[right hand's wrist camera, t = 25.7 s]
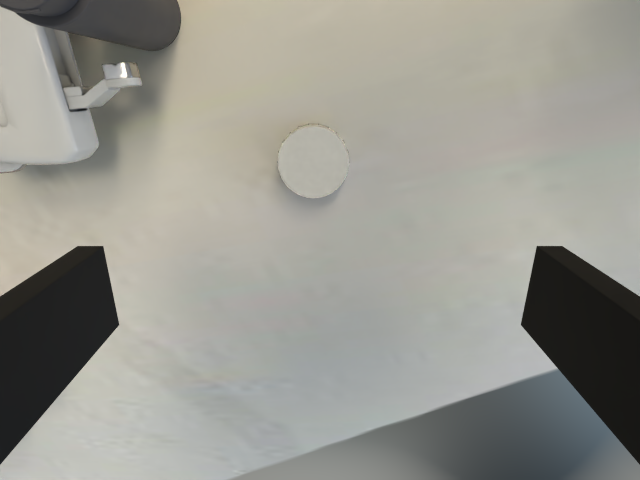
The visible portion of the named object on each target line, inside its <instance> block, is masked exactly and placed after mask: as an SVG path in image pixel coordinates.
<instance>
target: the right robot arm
mask: <svg viewBox="0 0 640 480" xmlns="http://www.w3.org/2000/svg"><path fill="white" fill-rule="evenodd" d="M118 325H119V322H118V317H117V312H116V307H115V302H114V297H113V292H112V287H111V283H110V278H109V273H108V268H107V263H106V258H105V253H104V248H103V246H77V247H76V248H74V249H73V250H71V251H70V252H68V253H67V254H65V255H64V256H62V257H60V258H59V259H57V260H56V261H54V262H53V263H51V264H50V265H48V266H47V267H45V268H44V269H42V270H40V271H39V272H37V273H36V274H34V275H33V276H31V277H30V278H28V279H27V280H25V281H24V282H22V283H20V284H19V285H17V286H16V287H14V288H13V289H11V290H10V291H8V292H7V293H5V294H4V295H2V296H0V464H1V463H2V462H3V461H4V459H5V458H6V457H7V456H8V455H9V454H10V452H11V451H12V450H13V449H14V448H15V447H16V445H17V444H18V443H19V442H20V441H21V439H22V438H23V437H24V436H25V435H26V434H27V432H28V431H29V430H30V429H31V428H32V427H33V425H34V424H35V423H36V422H37V421H38V419H39V418H40V417H41V416H42V415H43V414H44V412H45V411H46V410H47V409H48V408H49V407H50V405H51V404H52V403H53V402H54V401H55V400H56V398H57V397H58V396H59V395H60V394H61V392H62V391H63V390H64V389H65V388H66V387H67V385H68V384H69V383H70V382H71V381H72V380H73V378H74V377H75V376H76V375H77V374H78V372H79V371H80V370H81V369H82V368H83V367H84V365H85V364H86V363H87V362H88V361H89V360H90V358H91V357H92V356H93V355H94V354H95V353H96V351H97V350H98V349H99V348H100V347H101V345H102V344H103V343H104V342H105V341H106V340H107V338H108V337H109V336H110V335H111V334H112V333H113V331H114V330H115V329H116V328H117V327H118ZM521 325H522V327H523V328H524V329H525V330H526V331H527V333H528V334H529V335H530V336H531V337H532V338H533V340H534V341H535V342H536V343H537V344H538V345H539V347H540V348H541V349H542V350H543V351H544V353H545V354H546V355H547V356H548V357H549V358H550V360H551V361H552V362H553V363H554V364H555V365H556V367H557V368H558V369H559V370H560V371H561V372H562V374H563V375H564V376H565V377H566V378H567V380H568V381H569V382H570V383H571V384H572V385H573V386H574V388H575V389H576V390H577V391H578V392H579V394H580V395H581V396H582V397H583V398H584V399H585V401H586V402H587V403H588V404H589V405H590V407H591V408H592V409H593V410H594V411H595V412H596V414H597V415H598V416H599V417H600V418H601V419H602V421H603V422H604V423H605V424H606V425H607V427H608V428H609V429H610V430H611V431H612V432H613V434H614V435H615V436H616V437H617V438H618V439H619V441H620V442H621V443H622V444H623V445H624V446H625V448H626V449H627V450H628V451H629V452H630V454H631V455H632V456H633V457H634V458H635V459H636V461H637V462H638V463H639V464H640V296H638V295H636V294H635V293H633V292H632V291H630V290H629V289H627V288H626V287H624V286H623V285H621V284H620V283H618V282H616V281H615V280H613V279H612V278H610V277H609V276H607V275H606V274H604V273H603V272H601V271H600V270H598V269H596V268H595V267H593V266H592V265H590V264H589V263H587V262H586V261H584V260H583V259H581V258H580V257H578V256H576V255H575V254H573V253H572V252H570V251H569V250H567V249H566V248H564V247H563V246H537V248H536V253H535V258H534V263H533V268H532V273H531V278H530V283H529V287H528V292H527V297H526V302H525V307H524V312H523V317H522V322H521Z"/></svg>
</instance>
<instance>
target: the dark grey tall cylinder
mask: <svg viewBox="0 0 640 480" xmlns="http://www.w3.org/2000/svg"><path fill="white" fill-rule="evenodd" d="M0 6H1V7H2V8H5V9H8V10H10V11H13V12H15V13H16V14H17V15H19V16H20V17H22V18H23V19H25V20H27V21H29V22H31V23H33V24H36V25H39V26H43V27H47V28H52V29H56V30H60V31H65V32H69V33H73V34H78V35H82V36H86V37H91V38H95V39H99V40H104V41H108V42H113V43H117V44H121V45H126V46H130V47H134V48H139V49H143V50H148V51H156V50H161V49H163V48H165V47H167V46H168V45H170V44H171V43H172V42H173V41H174V39H175V38H176V36H177V34H178V32H179V29H180V23H181V14H180V8H179V5H178V2H177V0H0Z"/></svg>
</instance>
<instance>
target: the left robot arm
mask: <svg viewBox="0 0 640 480" xmlns="http://www.w3.org/2000/svg"><path fill="white" fill-rule="evenodd" d="M102 67H103V71H104V76H105V78H103V79H102V80H101V81H100V82H99V83H97V84H96V85H95V86H94V87H87V86H83V84H82V81H81V77H80V74H79V70H78V67H77V63H76V60H75V56H74V53H73V49H72V46H71V42H70V39H69V35H68V32H65V31H60V30H56V29H52V28H47V27H43V26H39V25H36V24H33V23H31V22H29V21H27V20H25V19H23V18H22V17H20V16H19V15H17V14H16V13H15V12H13V11H10V10H8V9H5V8H2V7H1V6H0V173H9V172H17V171H20V170H22V169H23V168H24V167H25V166H26V165H27V164H31V165H51V164H67V163H72V162H77V161H81V160H84V159H87V158H89V157H91V156H92V154H93V153H94V152H95V151H96V150H97V148H98V147H99V141H98V137H97V134H96V130H95V127H94V123H93V120H92V116H91V113H90V109H89V108H92V107H101V106H103V105H104V104H105V103H106V102H107V101H109V100H110V99H111V98H112V97H113V96H114V95H115V94H116V93H117V92H118V91H120V88H126V87H135V86H141V85H142V82H141V78H140V73H139V69H138V65H137V63H132V62H122V63H118V64H103V65H102Z"/></svg>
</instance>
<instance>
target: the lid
mask: <svg viewBox="0 0 640 480" xmlns="http://www.w3.org/2000/svg"><path fill="white" fill-rule="evenodd" d="M282 143H283V144H282V146H281V148H280V150H279V151H278V153H279V154H278V161H277V163H278V170H279V174H280V176H281V178H282V180H283V182H284V183H285V185H286V186H287V187H288V188H289V189H290V190H291V191H293V192H294V193H296V194H298V195H300V196H303V197H306V198H321V197H324V196H327V195H329V194H331V193H333V192H334V191H336V190H337V189H338V188H339V187H340V186H341V185H342V183H343V182H344V180H345V178H346V176H347V173H348V169H349V163H350V162H349V156H348V153H349V152H348V150H347V149H346V147H345V145H344V141H343V140H342V139H341V138H340V137H339V136H338V133H337V132H336V133H335V132H334V131H333V130H331V129H330V128H329V127H325V126H322V125H319V124H318V125H316V124H311V125H309V124H308V125H305V126H302V127H298V128H297V129H296V130H294V131H293V132H292V133H291V132H290V133H289V136H288V137H287V138H286V139H285V140H284V141H283V142H282Z"/></svg>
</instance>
